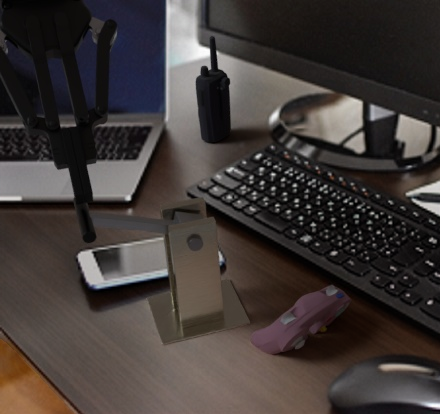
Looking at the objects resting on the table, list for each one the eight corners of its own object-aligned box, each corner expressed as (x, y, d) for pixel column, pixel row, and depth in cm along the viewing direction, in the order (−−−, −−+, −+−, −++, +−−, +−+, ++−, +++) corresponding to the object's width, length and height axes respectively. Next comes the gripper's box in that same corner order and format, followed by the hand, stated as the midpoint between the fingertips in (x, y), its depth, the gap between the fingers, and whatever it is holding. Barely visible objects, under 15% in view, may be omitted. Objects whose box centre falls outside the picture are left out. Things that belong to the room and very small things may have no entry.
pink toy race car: (273, 379, 81) (294, 343, 76) (243, 343, 82) (262, 306, 77) (341, 330, 87) (365, 295, 82) (313, 298, 88) (335, 261, 83)
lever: (80, 248, 74) (85, 225, 73) (70, 210, 79) (75, 188, 78) (208, 259, 79) (214, 238, 78) (191, 223, 85) (197, 202, 84)
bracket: (163, 352, 82) (148, 244, 75) (147, 306, 88) (132, 202, 82) (251, 331, 85) (244, 224, 78) (229, 287, 91) (221, 185, 85)
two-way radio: (218, 127, 126) (211, 30, 118) (243, 133, 124) (237, 36, 116) (195, 141, 122) (186, 42, 114) (220, 148, 120) (212, 48, 112)
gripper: (-44, -46, 75) (4, 201, 70) (103, -61, 79) (158, 173, 74) (-32, -4, 82) (13, 223, 77) (103, -20, 86) (153, 196, 81)
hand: (84, 198), depth 76 cm, fingers closed
